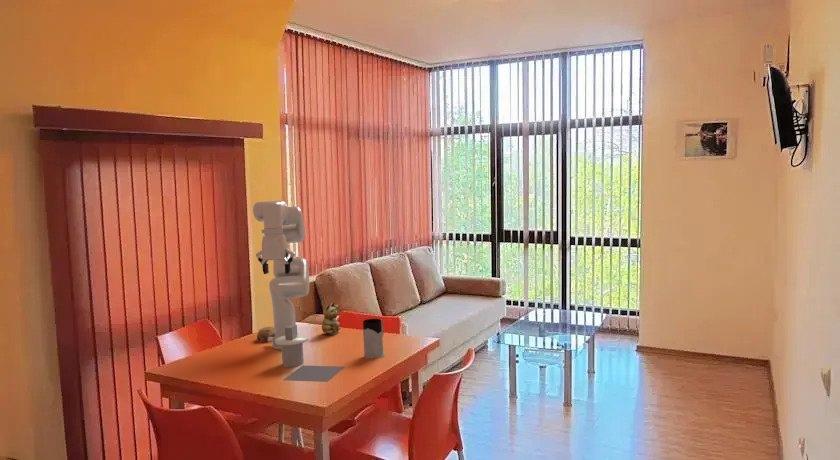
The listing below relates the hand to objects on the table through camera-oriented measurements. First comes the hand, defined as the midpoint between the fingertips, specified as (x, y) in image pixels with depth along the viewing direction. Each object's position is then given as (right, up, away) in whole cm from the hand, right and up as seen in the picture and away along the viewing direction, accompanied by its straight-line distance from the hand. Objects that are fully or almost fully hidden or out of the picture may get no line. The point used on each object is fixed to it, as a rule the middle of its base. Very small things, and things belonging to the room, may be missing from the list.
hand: (276, 273), depth 260 cm
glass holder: (+41, -34, +4) cm, 54 cm away
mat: (+19, -37, -20) cm, 46 cm away
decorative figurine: (+16, -32, +44) cm, 57 cm away
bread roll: (-13, -34, +39) cm, 53 cm away
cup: (+8, -37, -6) cm, 38 cm away
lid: (+7, -27, -6) cm, 28 cm away
